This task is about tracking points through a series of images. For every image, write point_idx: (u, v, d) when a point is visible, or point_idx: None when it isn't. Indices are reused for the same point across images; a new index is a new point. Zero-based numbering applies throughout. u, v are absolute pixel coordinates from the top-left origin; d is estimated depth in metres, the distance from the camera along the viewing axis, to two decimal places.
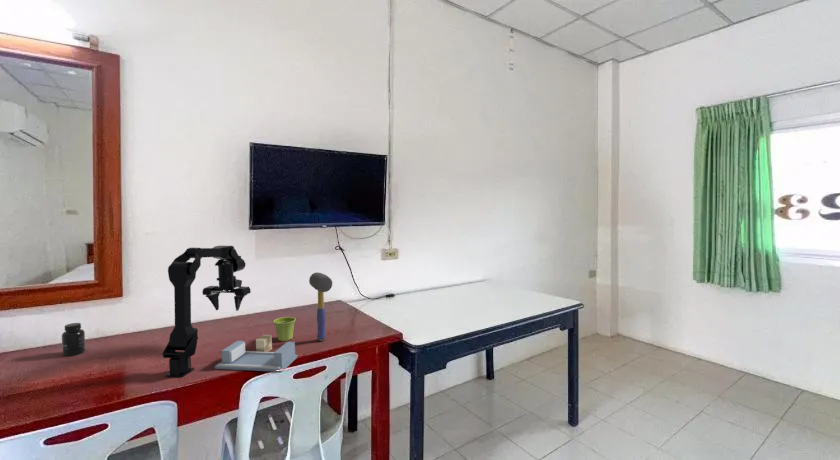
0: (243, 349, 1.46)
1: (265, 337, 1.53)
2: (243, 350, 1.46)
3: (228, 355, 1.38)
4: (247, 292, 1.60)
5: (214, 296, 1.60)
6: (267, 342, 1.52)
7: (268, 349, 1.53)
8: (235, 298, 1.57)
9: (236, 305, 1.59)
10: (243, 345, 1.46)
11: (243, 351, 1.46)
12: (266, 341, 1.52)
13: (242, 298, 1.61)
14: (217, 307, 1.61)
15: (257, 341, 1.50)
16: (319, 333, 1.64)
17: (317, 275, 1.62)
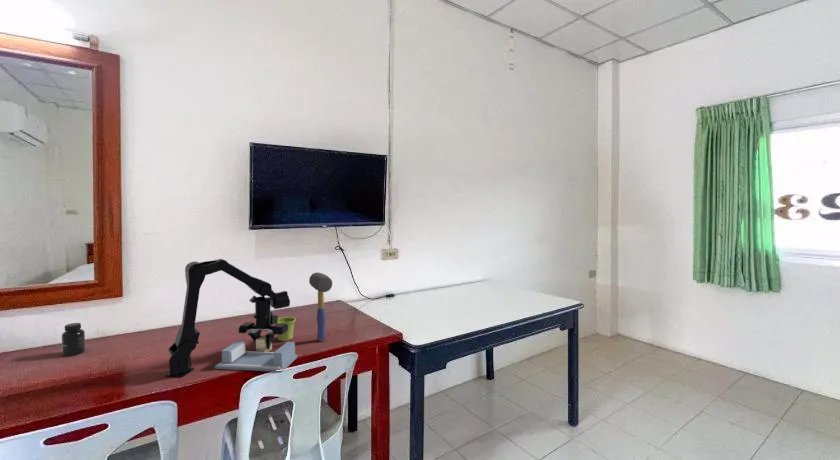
0: (243, 349, 1.46)
1: (265, 337, 1.53)
2: (243, 350, 1.46)
3: (228, 355, 1.38)
4: (285, 330, 1.52)
5: (257, 334, 1.52)
6: None
7: (268, 349, 1.53)
8: (267, 336, 1.50)
9: (267, 343, 1.51)
10: (243, 345, 1.46)
11: (243, 351, 1.46)
12: None
13: (273, 335, 1.54)
14: None
15: (257, 341, 1.50)
16: (319, 333, 1.64)
17: (317, 275, 1.62)
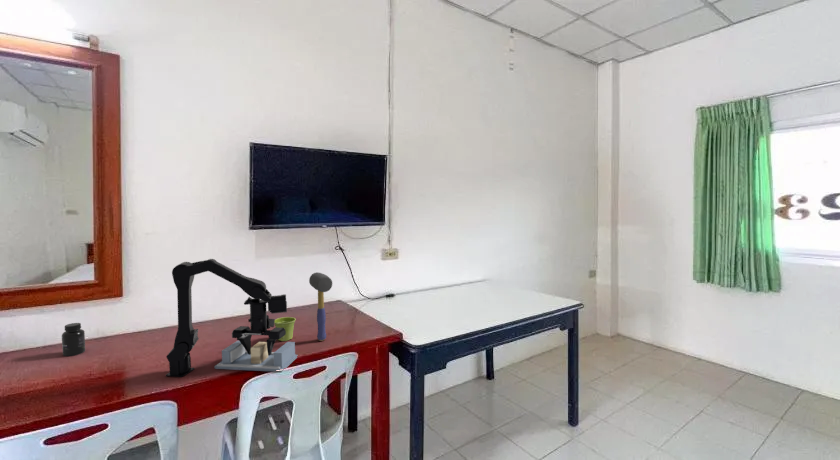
0: (243, 349, 1.46)
1: (261, 344, 1.42)
2: (243, 350, 1.46)
3: (228, 355, 1.38)
4: (282, 334, 1.41)
5: (246, 339, 1.41)
6: (263, 350, 1.42)
7: (264, 357, 1.42)
8: (268, 342, 1.38)
9: (268, 349, 1.40)
10: None
11: (243, 351, 1.46)
12: (262, 349, 1.41)
13: None
14: (249, 351, 1.42)
15: (252, 349, 1.39)
16: (319, 333, 1.64)
17: (317, 275, 1.62)
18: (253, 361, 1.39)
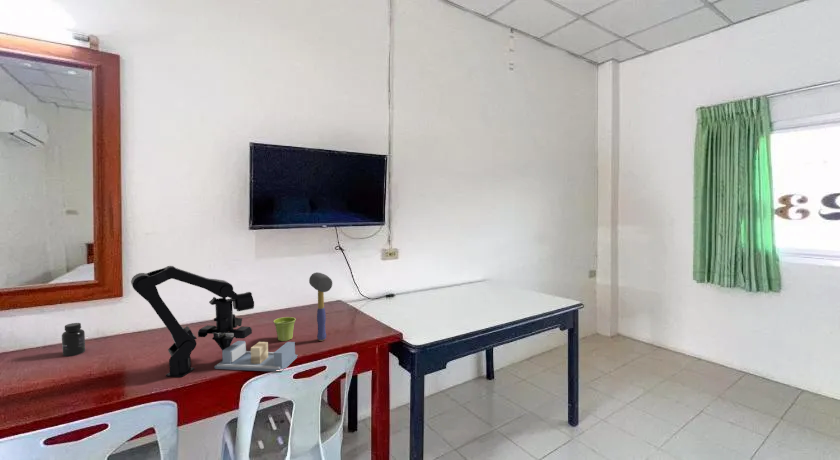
0: (243, 349, 1.46)
1: (261, 344, 1.42)
2: (243, 350, 1.46)
3: (229, 355, 1.38)
4: (248, 333, 1.42)
5: (222, 338, 1.42)
6: (263, 350, 1.42)
7: (264, 357, 1.42)
8: (224, 340, 1.40)
9: (225, 347, 1.42)
10: (243, 345, 1.46)
11: (243, 351, 1.46)
12: (262, 349, 1.41)
13: (232, 339, 1.44)
14: None
15: (252, 349, 1.39)
16: (319, 333, 1.64)
17: (317, 275, 1.62)
18: (253, 361, 1.39)
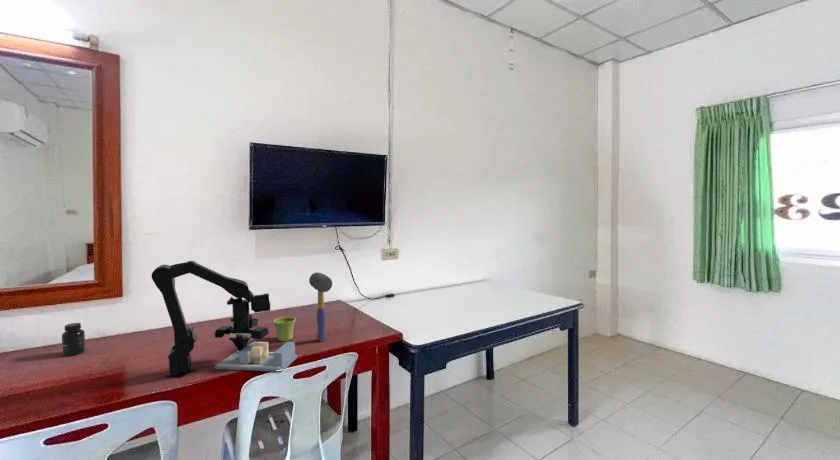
0: None
1: (261, 344, 1.42)
2: None
3: (246, 355, 1.37)
4: (265, 334, 1.42)
5: (239, 339, 1.42)
6: (264, 350, 1.42)
7: (264, 357, 1.42)
8: (240, 341, 1.40)
9: (241, 348, 1.41)
10: None
11: None
12: (262, 349, 1.41)
13: (248, 340, 1.44)
14: None
15: (252, 349, 1.39)
16: (319, 333, 1.64)
17: (317, 275, 1.62)
18: (253, 361, 1.39)
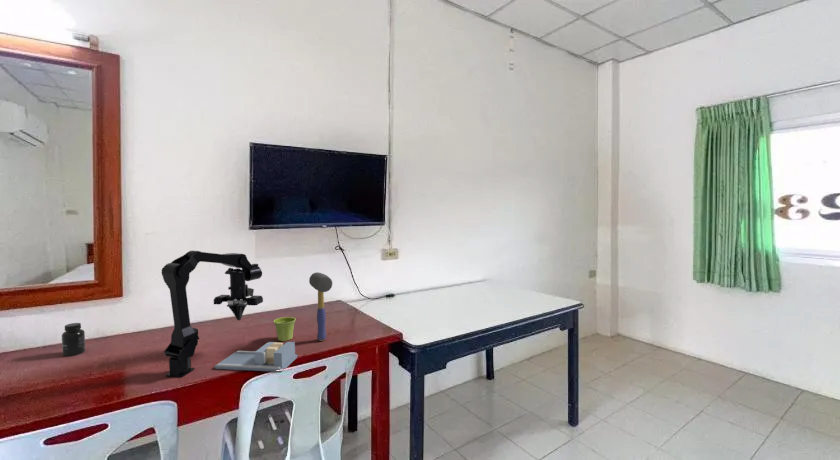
0: None
1: (277, 345, 1.41)
2: None
3: (261, 356, 1.37)
4: (260, 301, 1.55)
5: (235, 306, 1.55)
6: None
7: None
8: (237, 307, 1.53)
9: (238, 314, 1.54)
10: None
11: None
12: None
13: (244, 307, 1.57)
14: None
15: (268, 350, 1.38)
16: (319, 333, 1.64)
17: (317, 275, 1.62)
18: (269, 362, 1.39)
